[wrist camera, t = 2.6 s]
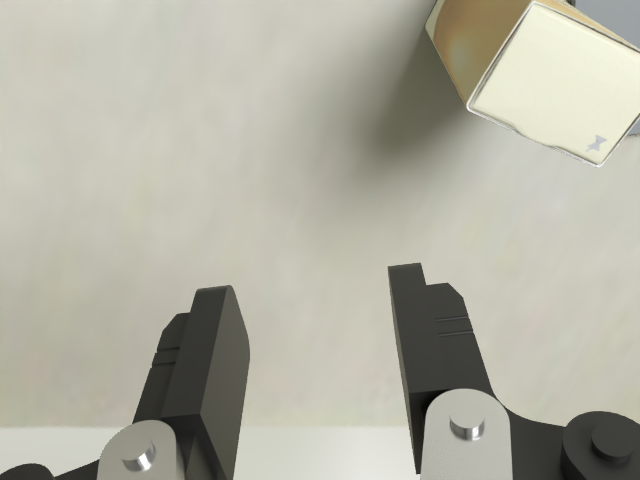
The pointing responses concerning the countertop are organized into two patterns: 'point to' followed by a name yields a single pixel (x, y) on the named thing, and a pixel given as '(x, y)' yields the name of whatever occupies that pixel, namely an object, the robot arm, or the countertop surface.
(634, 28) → the mat
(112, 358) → the countertop surface
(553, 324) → the countertop surface
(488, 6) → the skincare box
